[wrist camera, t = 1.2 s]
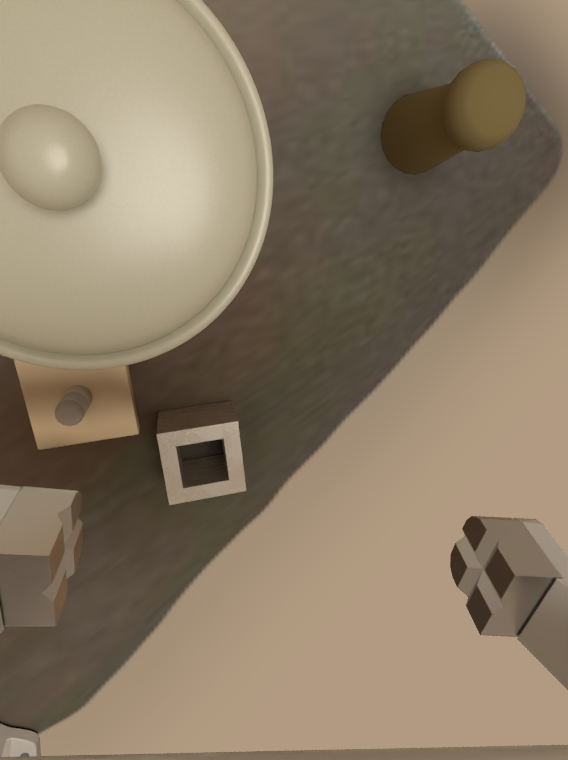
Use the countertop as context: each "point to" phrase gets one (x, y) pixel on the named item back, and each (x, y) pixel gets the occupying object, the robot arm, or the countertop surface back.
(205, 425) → the white hollow square block
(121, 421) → the base plate
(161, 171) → the canister
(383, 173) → the countertop surface
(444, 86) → the olive pepper mill
